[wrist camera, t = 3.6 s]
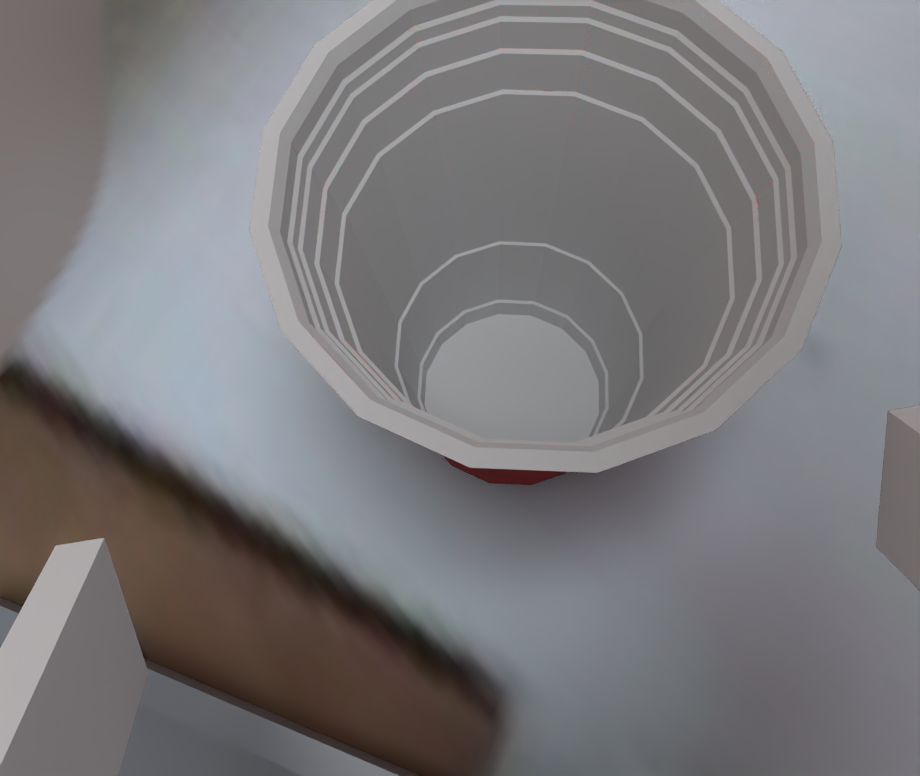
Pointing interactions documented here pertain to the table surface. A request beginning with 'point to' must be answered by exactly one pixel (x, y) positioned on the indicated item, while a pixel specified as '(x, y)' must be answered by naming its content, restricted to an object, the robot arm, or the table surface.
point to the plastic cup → (545, 224)
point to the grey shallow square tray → (222, 733)
